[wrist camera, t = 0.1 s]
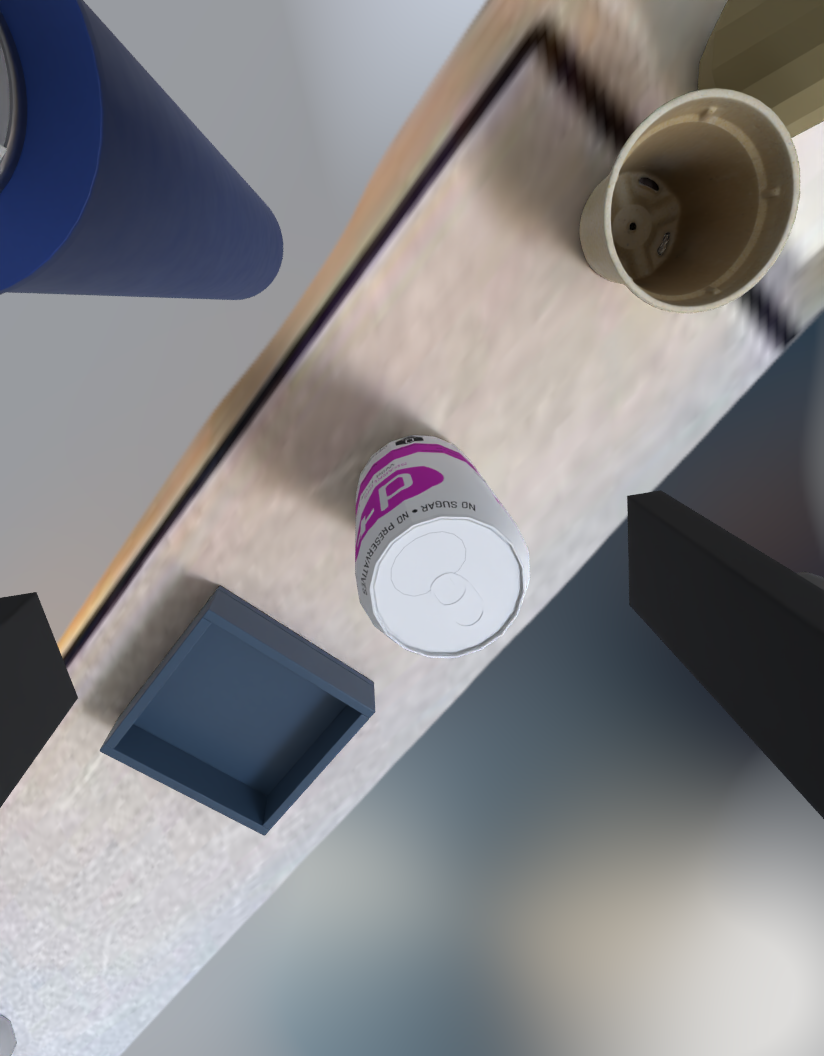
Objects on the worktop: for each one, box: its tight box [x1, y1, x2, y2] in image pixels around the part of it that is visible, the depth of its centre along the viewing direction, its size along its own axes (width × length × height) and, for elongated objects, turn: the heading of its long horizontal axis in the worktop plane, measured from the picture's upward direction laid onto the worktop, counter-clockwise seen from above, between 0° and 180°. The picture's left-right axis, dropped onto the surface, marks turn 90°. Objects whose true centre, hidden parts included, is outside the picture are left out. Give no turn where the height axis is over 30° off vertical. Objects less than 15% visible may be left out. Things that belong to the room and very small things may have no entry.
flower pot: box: [579, 88, 800, 313], centre depth 33 cm, size 9×9×9 cm
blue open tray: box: [100, 586, 375, 835], centre depth 44 cm, size 13×13×4 cm
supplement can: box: [355, 435, 530, 658], centre depth 34 cm, size 8×8×15 cm
